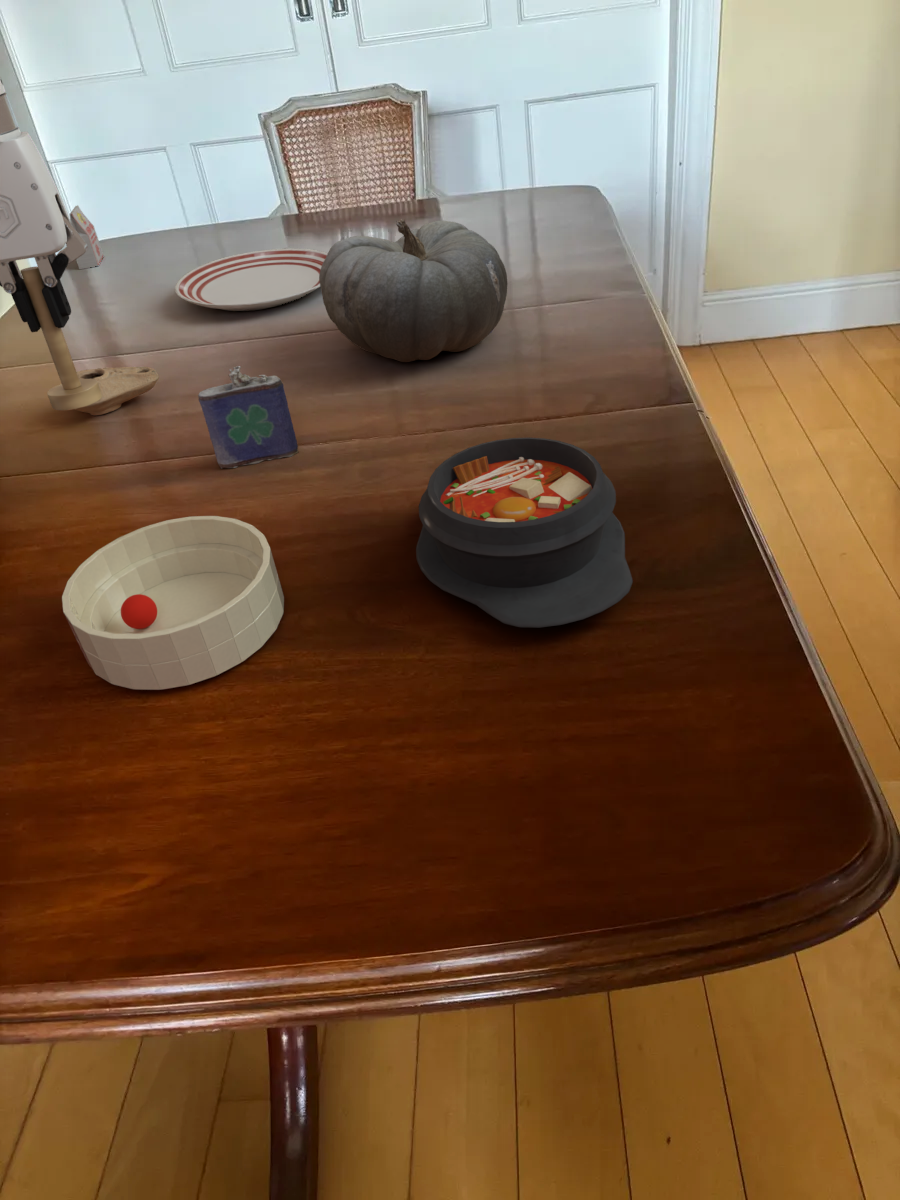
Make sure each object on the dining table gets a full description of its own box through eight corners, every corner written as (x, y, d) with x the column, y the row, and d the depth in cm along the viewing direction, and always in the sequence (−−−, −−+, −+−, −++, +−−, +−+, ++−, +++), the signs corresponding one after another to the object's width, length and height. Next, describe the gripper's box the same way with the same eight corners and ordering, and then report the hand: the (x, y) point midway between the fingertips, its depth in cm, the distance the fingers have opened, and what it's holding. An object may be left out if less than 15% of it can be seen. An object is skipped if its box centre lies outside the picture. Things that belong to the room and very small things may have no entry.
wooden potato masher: (43, 412, 93) (-9, 278, 86) (65, 395, 97) (17, 265, 90) (90, 407, 92) (42, 271, 85) (110, 390, 97) (65, 259, 89)
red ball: (151, 584, 77) (167, 609, 79) (120, 591, 78) (136, 616, 80) (141, 606, 75) (158, 632, 77) (109, 613, 76) (127, 639, 77)
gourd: (285, 338, 124) (282, 204, 114) (415, 310, 139) (422, 189, 129) (409, 397, 110) (418, 251, 100) (538, 358, 126) (556, 228, 116)
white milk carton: (79, 269, 174) (60, 215, 168) (85, 259, 179) (67, 206, 173) (98, 266, 174) (80, 212, 168) (104, 256, 179) (86, 203, 173)
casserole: (383, 520, 89) (369, 445, 84) (554, 471, 93) (550, 396, 87) (475, 673, 69) (465, 587, 64) (685, 603, 73) (691, 517, 68)
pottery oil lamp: (167, 403, 116) (131, 369, 110) (91, 445, 118) (52, 414, 112) (159, 359, 121) (124, 323, 115) (85, 400, 123) (48, 367, 117)
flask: (218, 471, 101) (192, 382, 94) (218, 459, 103) (192, 371, 97) (300, 455, 102) (279, 365, 95) (298, 444, 104) (277, 356, 98)
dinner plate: (361, 261, 158) (358, 241, 156) (316, 319, 137) (312, 297, 135) (217, 269, 163) (212, 250, 161) (152, 326, 142) (146, 306, 140)
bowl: (69, 711, 71) (39, 654, 68) (107, 585, 85) (84, 533, 81) (283, 675, 72) (266, 617, 68) (287, 556, 85) (272, 502, 82)
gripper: (-135, 145, 76) (-39, 351, 88) (50, 117, 77) (122, 326, 88) (-103, 130, 82) (-17, 324, 93) (69, 104, 83) (134, 301, 94)
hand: (50, 324), depth 91 cm, fingers closed on wooden potato masher
